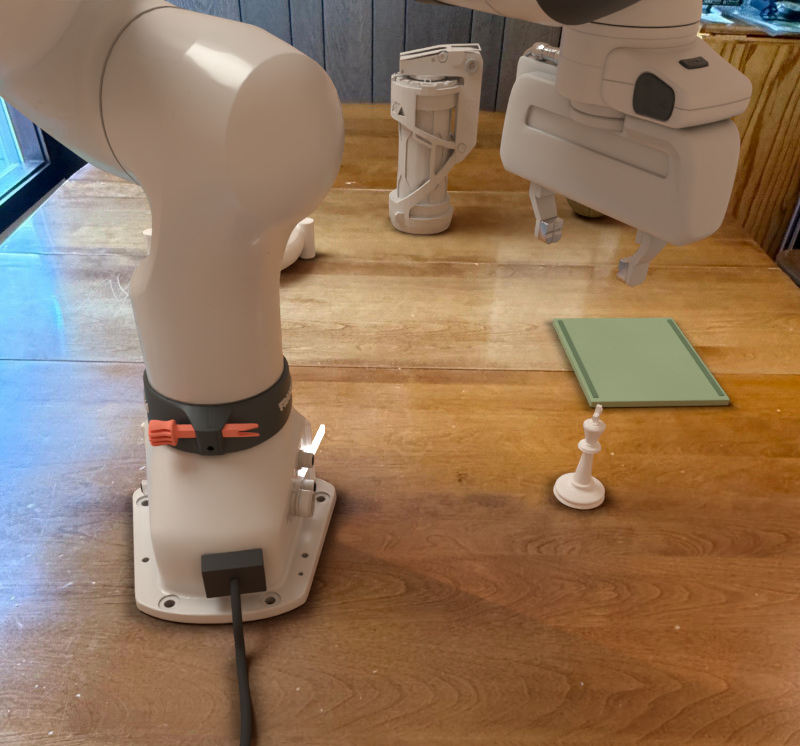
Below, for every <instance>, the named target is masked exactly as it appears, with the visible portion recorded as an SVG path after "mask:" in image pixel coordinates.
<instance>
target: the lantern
mask: <svg viewBox="0 0 800 746" xmlns="http://www.w3.org/2000/svg"><path fill="white" fill-rule="evenodd" d="M474 46H475V47H478V48H475V47H474ZM481 52H482V48H481V46H480V43H447V44H437V45H432V46H427V47H423V48H418V49H413V50H408V51H403V52H400V53H399V71H397V72H394V73H392V74H391V76H390V77H391V78H390V117H391V118H392V119H393V120H395V121H397V123H398V124H397V125H398V126H397V127H398V158H397V174H396V175H397V176H396V188H394V189H393V190H391V191H390V192H389V194H388V215H389V219H390V223H391V226H392V227H394V228H395V229H396V230H398V231H400V232H402V233H406V234H412V235H434V234H439V233H442V232H444V231H445V230H448V228H449V227H450V226H451V222H452V219H453V214H454V207H453V205H452V204H451V195H450V193H448V184H449V180H448V179H449V177H448V175H449V173H450V172H451V170H452V169H453V167H454V166H455V165H457V164H459V163H461V162H463V161H464V160H465V158H466V157H467V156H468V155H469V154H470V153H471V151H472V150H473V149H474V148H475V146H476V145H477V138H478V126H479V118H480V117H479V116H480V106H481V105H480V104H481V95H482V94H481V91H482V83H483V71H484V69H483V67H484V59H483V57H482V54H481ZM453 108H454V109H455V110H454V109H453ZM453 110H454V123H453V132H452V122H453Z"/></svg>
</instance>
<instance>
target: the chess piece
mask: <svg viewBox="0 0 800 746" xmlns="http://www.w3.org/2000/svg"><path fill="white" fill-rule="evenodd" d="M603 408H604V407H602V405H599V404H597V406H596V407H595V410H594V413H593V415H592V417H591V418H587V419H585V420H584V421H583V422H582V423H583V424H582V429H583V431H584V438H583V439H581V440H579V442H578V443H577V448H578V449H579V450H580V451H581V452H582V453H581V456H580V459H579V460H578V461H579V462H578V464H577V466H576V469H575V471H574V472H568V473H564V474H562V475H560V476H559V477H558V478H557V479H556V481H555V483H554V485H553V489H552V490H553V495H554V496H555V498H556V499H557V500H558V501H559V502H560V503H561V504H563V505H565V506H567V507H570V508H572V509H577V510H591V509H594V508H595V509H596V508H597V507H599V506H601V505H602V504H603V503H604V501H605V497H606V495H605V494H606V489H605V486H604V485H603V483H602V482H601V481H600V480H599V479H598V478H596V477H595V476H593V474H592V473H593V463H594V462H593V461H594V455H595V454H598V453H600V452H601V451H602V445H601V443H600V441H599V440H600V438H601V436H602V435H603V434H604V432H605V430H606V429H607V425H606V423H605V422H604V421H603V420H601V419H600V417H601V415H602V413H603V410H604V409H603Z"/></svg>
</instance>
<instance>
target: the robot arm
mask: <svg viewBox="0 0 800 746" xmlns="http://www.w3.org/2000/svg"><path fill="white" fill-rule="evenodd" d="M413 1H414V2H418V3H419V4H425V5H435V6H445V7H446V6H447V7H459V8H460V7H463V8H465V9H470V10H474V11H479V12H484V13H488V14H493V15H497V16H500V17H505V18H508V19H515V20H520V21H525V22H529V23H533V24H538V25H542V26H547V27H559V28H561V27H562V29H561V35H560V37H561V38H560V45H559V47H557V46H556V47H555V46H552V45H550V44H549V43H547V42H542V41H539V42H538V41H537V42H534V43H533V44H532V46H531V47H529V48H527V49H526V50H525V51H524V53H523V54H522V56H520V57H519V60H518V61H517V66H516V75H515V76H516V77H515V81H514V83H513V86H512V87H511V90H510V95H509V98H508V102H507V107H506V111H505V117H504V122H503V127H502V134H501V140H500V147H499V155H500V159H501V164H502V166H503V169H504V170H505V171H506V172H508V173H511V174H513V175H515V176H517V177H520V178H521V179H524V180H526V181H528V182H529V190H528V195H529V200H530V202H531V203H530V204H531V207H532V211H533V214H534V218H535V219H536V220H535V226H534V234H533V235H534V239H536V240H538V241H539V242H541V243H543V244H545V245H551V244H552V243H554V244H555V243H558V242H559V241H560V240H561V238H562V234H563V232H562V230H563V228H564V223H565V222H564V219H563V218H561V217H560V216H558V210H557V209H558V208H557V203H556V197H555V195H560V196H562V197H565V198H566V197H567V198H569V199H571V200H573V201H576V202H578V203H580V204H582V205H585V206H587V207H589V208H591V209H594V210H596V211H598V212H600V213H603V214H605V215H604V216H607V217H610V218H612V219H614V220H616V221H618V222H621V223H623V224H625V225H627V226H630V227H632V228H634V229H637V231H636V234H635V240H634V241H635V244H637V245H640V246H639V247H638V248H637V250H636V251H635V252H634V254H631V255H629V256H625V257H622V258H620V259H619V262H618V266H617V269H618V271H617V273H616V274H615V278H616V280H617V281H618V282H621V283H623V284H625V285H627V286H628V287H631V288H633V287H637V286H639V285H642V284H644V282H645V281H646V279H647V275H648V270H649V268H650V264H651V262H652V261H653V260H654V259H655V258H656V257H657V256H658V255H659V254H660V253H661V252H662V250H663V249H664V248H665V247H666V246H667V245H668V244H670V245H672V246H675V247H685V246H689V245H692V244H696V243H697V242H701V241H704V240H706V239H708V238H709V237H711V236H712V235H713V234H715V232H717V231H718V230H719V229H720V227H721V226H722V224H723V221H724V219H725V216H726V214H727V210H728V207H729V203H730V199H731V196H732V191H733V187H734V184H735V179H736V174H737V169H738V166H739V159H740V154H741V136H740V131H739V129H738V126H737V125H736V123H735V122H734V121H733V120H732V119H731V118H735V117H736V116H740V115H742V114H743V113H745V111H746V110H747V109H748V106H749V104H750V101H751V97H752V94H753V84H752V81H751V80H750V79H749V77H747V76H746V75H745V74H744V73H743V72H741V71H740V70H739V69H737V68H736V67H735V66H734V65H733V64H731V63H730V62H728V61H727V60H726V59H725V58H723V56H721V55H720V54H719V53H717V52H716V51H715V49H713V48H712V47H711V46H710V45H709V44H708V43H707V42H706V41H705V40H704V39H703V38H702V37H700V36H698V32H699V28H700V24H701V19H702V15H703V0H413ZM0 97H1V98H2V99H3V100H4V101H5V102H6V103H8V104H9V105H10V106H12V107H13V108H14V109H15V110H16V111H18V113H20V114H22V115H23V116H24V117H25V118H27V119H28V120H29V121H31V122H32V123H33V124H34V125H36V126H37V127H38V128H40V129H41V130H42V131H44V132H45V133H46V134H48V135H49V136H50V137H52V138H53V139H54V140H56V141H57V142H58V143H60V144H62V145H63V146H64V147H65V148H66V149H68V150H69V151H71V152H72V153H73V154H75V155H77V156H78V158H79V157H80V158H81V159H82V160H84V161H85V162H86V163H88V164H89V165H91V166H92V167H94V168H96V169H98V170H100V171H101V172H104V173H107V174H108V175H112V176H114V177H116V178H118V179H120V180H124V181H126V182H129V183H131V184H133V185H135V186H138V187H140V188H141V189H142V191H143V193H144V195H145V197H146V200H147V201H148V205H149V209H150V215H151V216H150V217H151V228H152V235H151V247H150V254H149V255H148V256H147V255H146V256H145V258H144V259H142V260H141V261H140V262H139V263H138V264H137V266H136V267H135V269H134V270H133V272H132V275H131V277H130V280H129V285H128V286H129V287H128V295H129V300H130V304H131V305H130V306H131V309H132V313H133V317H134V322H135V327H136V332H137V336H138V341H139V346H140V350H141V354H142V359H143V363H144V370H143V374H142V382H143V389H142V390H143V392H142V394H143V402H144V408H145V410H146V417H147V418H146V419H145V420H144V421H143V422H142V423H140V429H141V432H142V433H141V434H142V437H143V440H144V441H143V442H144V448H145V451H144V452H145V466H146V468H145V469H146V479H141V483H140V487H138V488H137V489H136V490H135V491H134V492H133V494H132V530H133V531H132V533H133V568H134V570H133V571H134V572H133V573H134V574H133V575H134V577H133V578H134V598H135V599H134V600H135V604H136V608H137V609H138V610H139V611H140V612H142V613H145V614H146V615H149V616H151V617H155V618H158V619H161V620H165V621H170V622H175V623H176V622H177V623H185V624H232V631H233V632H232V633H233V639H234V640H233V641H234V642H233V643H234V650H235V651H234V652H235V663H236V672H237V682H238V683H237V684H238V693H239V704H240V705H239V706H240V735H239V736H240V739H239V746H252V745H251V744H252V703H251V693H250V692H251V691H250V683H249V675H248V674H249V673H248V667H247V664H248V663H247V655H246V643H245V642H246V641H245V633H244V624H243V623H244V622H252V621H257V620H264V619H268V618H272V617H276V616H279V615H283V614H285V613H288V612H291V611H292V610H295V609H296V608H298V607H301V606H302V605H303V604H305V603H306V601H307V600H308V597H309V594H310V591H311V587H312V584H313V581H314V578H315V575H316V570H317V567H318V563H319V560H320V557H321V553H322V550H323V546H324V543H325V540H326V537H327V533H328V530H329V526H330V522H331V520H332V516H333V512H334V509H335V506H336V502H337V492H336V488H335V486H334V485H333V484H332V483H330V482H328V481H326V480H323V479H322V478H320V477H317V474H316V464H315V454H316V452H317V450H318V449H319V446H320V443H321V441H322V439H323V437H324V435H325V424H320V426H319V429H318V430H317V432H316V435H315V436H314V439H313V434H312V433H313V432H312V424H311V421H310V420H308V419H307V418H306V417H305V416H304V415H303V414H301V413H300V412H299V411H298V410H297V409H296V407H294V405H293V379H292V373H291V372H290V365H289V362H288V359H287V358H286V356H285V355H284V351H283V350H284V348H283V336H282V318H281V299H280V297H281V296H280V294H281V293H280V284H281V283H280V282H281V271H282V270H281V266H282V260H283V256H284V252H285V249H286V246H287V243H288V240H289V238H290V235H291V233H292V231H293V229H294V228H295V227H296V225H297V224H298V223H299V222H301V221H302V220H303V219H305V218H306V217H307V218H309V216H310V215H312V214H313V213H314V212H315V211H316V210H317V209H318V208H319V207H320V205H322V203H323V202H324V200H325V199H326V198H327V196H328V195H329V193H330V192H331V190H332V188H333V186H334V184H335V182H336V180H337V178H338V175H339V172H340V168H341V165H342V161H343V157H344V152H345V143H346V142H345V141H346V140H345V139H346V138H345V136H346V135H345V119H344V113H343V112H344V111H343V107H342V102H341V99H340V96H339V93H338V91H337V88H336V86H335V85H334V82H333V79H331V77H330V75H329V74H328V73H327V71H326V70H325V68H323V66H321V65H320V63H318V62H317V61H315V60H314V59H313V58H312V57H310V56H308V55H306V54H305V53H304V52H302V51H300V50H299V49H297V48H296V47H294V45H293V46H292V45H291V44H290V43H288V42H286V41H285V40H283V39H282V38H279V37H277V36H275V35H274V34H272V33H270V32H269V31H267V30H265V29H264V28H262V27H259V26H257V25H254V24H252V23H251V24H250V23H247V22H243V21H237V20H233V19H229V18H225V17H220V16H216V15H211V14H207V13H203V12H198V11H194V10H189V9H187V8H183V7H180V6H177V5H176V4H173V3H171V2H169V1H167V0H0Z"/></svg>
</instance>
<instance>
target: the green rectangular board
mask: <svg viewBox="0 0 800 746" xmlns="http://www.w3.org/2000/svg"><path fill="white" fill-rule="evenodd" d="M551 324H552V326H553V328H554V331H555V333H556V335H557V338H558V339H559V341H560V344H561V345H562V348H563V350H564V352H565V354H566V357H567V359H568V361H569V363H570V365H571V368H572V370H573V372H574V374H575V376H576V379H577V381H578V383H579V385H580V388H581V390H582V392H583V394H584V396H585V398H586V400H587V401H586V402H587V403H588V405H589V407H590V408H596V406H597V404H599V405H602V408H641V407H642V408H643V407H645V408H646V407H648V408H649V407H650V408H651V407H700V406H701V407H702V406H703V407H704V406H706V407H707V406H711V407H712V406H729V404H730V401H731V399H730V397H729V396H728V395H727V393H726V392H725V390H724V389H723V388H722V386H721V385H720V383H719V382H718V380H717V379H716V377H715V376H714V375H713V373H712V372H711V371H710V369H709V368H708V366H707V365H706V364H705V362H704V361H703V359H702V358H701V357H700V354H699V353H698V352H697V351H696V349H695V348H694V346H693V345H692V344H691V342H690V341H689V339H688V338H687V337H686V336H685V334H684V332H683V331H682V330H681V328H680V326H679V325H678V324H677V322H676V321H675V320H674V318H673V317H568V318H567V317H562V318H561V317H560V318H559V317H556V318H555V317H553V318H552V323H551Z"/></svg>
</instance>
